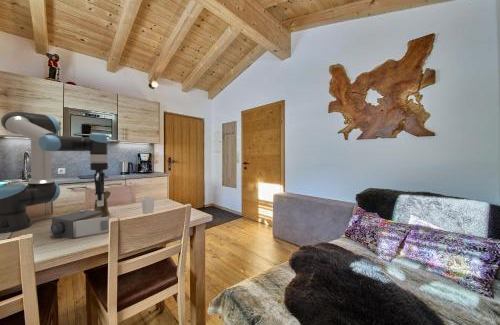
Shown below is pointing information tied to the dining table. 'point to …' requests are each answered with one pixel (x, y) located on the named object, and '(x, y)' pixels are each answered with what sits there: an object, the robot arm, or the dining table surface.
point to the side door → (90, 226)
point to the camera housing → (71, 221)
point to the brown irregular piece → (105, 207)
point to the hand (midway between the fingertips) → (100, 205)
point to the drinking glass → (148, 204)
